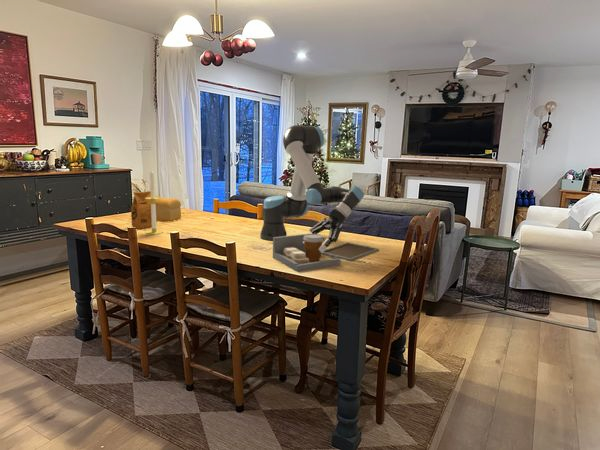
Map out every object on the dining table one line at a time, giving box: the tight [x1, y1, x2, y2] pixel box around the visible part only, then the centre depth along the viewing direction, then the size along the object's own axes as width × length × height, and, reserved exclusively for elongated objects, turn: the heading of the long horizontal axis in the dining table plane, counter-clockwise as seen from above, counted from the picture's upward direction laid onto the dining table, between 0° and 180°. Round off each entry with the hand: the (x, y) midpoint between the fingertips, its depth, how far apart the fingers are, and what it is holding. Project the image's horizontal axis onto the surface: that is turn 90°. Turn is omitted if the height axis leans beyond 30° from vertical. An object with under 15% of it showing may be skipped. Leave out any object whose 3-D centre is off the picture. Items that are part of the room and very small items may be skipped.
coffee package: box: [130, 190, 152, 230], centre depth 255 cm, size 10×12×22 cm
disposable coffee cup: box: [303, 233, 325, 263], centre depth 195 cm, size 10×10×12 cm
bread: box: [155, 196, 182, 222], centre depth 282 cm, size 24×13×15 cm, turn 72°
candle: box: [145, 168, 161, 235], centre depth 240 cm, size 10×10×38 cm
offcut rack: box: [272, 233, 342, 272], centre depth 194 cm, size 23×23×10 cm
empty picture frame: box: [320, 242, 379, 262], centre depth 212 cm, size 19×2×30 cm
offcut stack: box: [283, 247, 310, 264], centre depth 191 cm, size 18×6×6 cm, turn 29°
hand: (312, 247), depth 194 cm, fingers open, 13 cm apart
